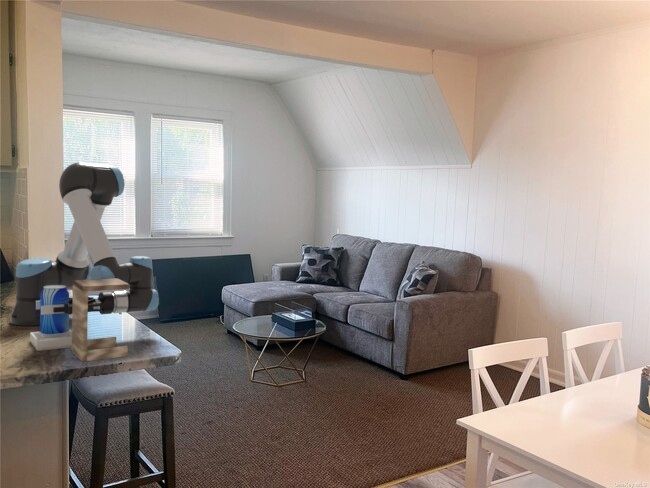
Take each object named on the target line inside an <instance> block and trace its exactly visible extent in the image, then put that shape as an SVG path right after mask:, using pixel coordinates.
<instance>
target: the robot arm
mask: <svg viewBox="0 0 650 488" xmlns="http://www.w3.org/2000/svg"><path fill="white" fill-rule="evenodd" d="M125 183H126V181H125V178H124V174H123V172H122V171H121V170H120V168H119V167H117V166H115V165H109V164H106V163H103V164H101V163H93V162H89V163H88V162H73V163H72V164H70V165H68V166H67V167H65V169H64V170H63V171H62V173H61V174H60V178H59V184H58V188H59V189H58V190H59V193H60V197H61V199H62V202H63V203H64V204H66V205H68V208H69V210H70V212H71V215H72V217H73V224H72V226H71V228H70V233H69V235H68V238H67V240H66V242H65V246H64V249H63V250H62V251H61V250H60V251H59V252H58V254H57V256H56V259H55V260H52V259H51V258H48V257H37V258H36V257H35V258H28V259H23V260H21V261H19V262H18V263H17V265H16V269H15V270H16V271H15V281H16V282H15V303H14V306H13V309H12V312H11V314H10V320H9V321H10V324H11V325H15V326H23V327H26V326H27V327H29V326H30V327H31V326H32V327H34V326H40V294H41V292H42V291H43V289H44V286H48V285H64V286H66V289H67V290H68V291H69V290H72V291H73V280H90V279H113V278H118V279H120V280H122V281H124V282H126V283H128V284H129V289H128V290H112V292H111V291H102V292H99V293H98V297H97V298H94V297H93V296H88V313H93V312H94V313H95V312H97V313H98V312H99V314H100V315H110V314H119V315H122V314H123V313H133V312H135V313H136V312H147V311H153V310H156V309H157V308H158V306H159V303H160V302H159V301H160V299H159V298H160V297H159V293H158V291H157V290H156V289H154V288H152V283H153V282H152V280H153V278H152V277H153V261H152V258H151V257H150V256H145V255H134V256H131V257H130V258H129V262H126V263H119V262H118V260H117V258H116V256H115V255H116V254H114V253H115V252H114V250H113V248H112V246H111V244H110V240H109V238H108V237H107V234H106V231H105V230H104V226H103V224H102V221H101V220H102V217H103V214H104V212H105V208H106V207H108V206H111V205H112V202H113V199H114V198H118V197H119V196H121V195H122V194H123V193H124V190H125ZM88 257H89V258H88ZM89 259H90V260H89ZM90 261H91V263H90ZM91 264H92V266H91ZM72 305H73V297H69V305H68V303H65V307H64V304H61V305H46V306H41V315H45V314H58V313H64V312H65V313H68V314H69V315H72Z"/></svg>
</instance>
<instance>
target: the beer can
mask: <svg viewBox="0 0 650 488" xmlns="http://www.w3.org/2000/svg"><path fill="white" fill-rule="evenodd" d="M69 298H70V293H69V290H67V289H66V286H64V285H48V286H44V289H43V291H42V292H41V294H40V325H39V332H40V333H41V334H42V335H43V337H47V338H56V337H62V336H65V335H66V334H67V332H68V331H69V329H70V314H68V313H65V312H64V313H58V314H45V315H41V306H46V305H61V304H64V307H65V303H68V305H69Z"/></svg>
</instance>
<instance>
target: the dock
mask: <svg viewBox="0 0 650 488" xmlns="http://www.w3.org/2000/svg"><path fill="white" fill-rule="evenodd" d="M121 290H130V288H129V284H128V283H126V282H124V281H122V280H120V279H118V278H113V279H90V280H73V290H72V298H73V305H72V314H71V316H72V318H71V330H72V347H71V352H72V353H73V354H74V355H75V356H76V357H77V359H79V361H81V362H89V361H90V362H91V361H97V360H107V359H115V358H121V357H128V356H129V346H128V345H120V346H117V337H116V336H110V337H108V336H107V337H100V338H93V339H92V338H89V339H88V318H89V317H88V316H89V315H88V314H89V312H88V297H89V292H98V291H99V292H100V291H121Z"/></svg>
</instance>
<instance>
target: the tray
mask: <svg viewBox="0 0 650 488" xmlns="http://www.w3.org/2000/svg"><path fill="white" fill-rule="evenodd" d="M29 343H31V345H32V346H33V347H34V348H35V350H36V351H48V350H57V349H66V348H67V349H68V348H72V328H69V331H68V332H67V334H66V335H65V336H62V337H56V338H47V337H43V335H42V334H41V333H40V331H33V332H32V331H31V332H30V333H29Z"/></svg>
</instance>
